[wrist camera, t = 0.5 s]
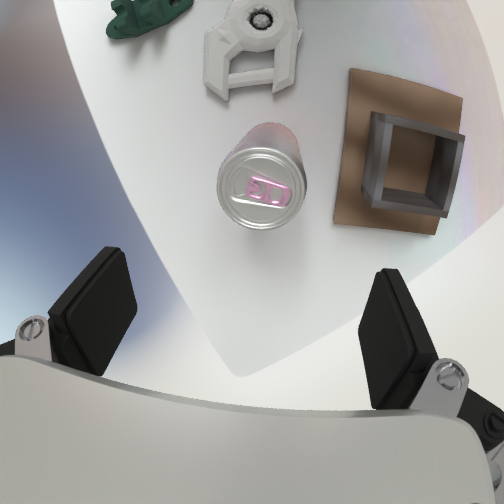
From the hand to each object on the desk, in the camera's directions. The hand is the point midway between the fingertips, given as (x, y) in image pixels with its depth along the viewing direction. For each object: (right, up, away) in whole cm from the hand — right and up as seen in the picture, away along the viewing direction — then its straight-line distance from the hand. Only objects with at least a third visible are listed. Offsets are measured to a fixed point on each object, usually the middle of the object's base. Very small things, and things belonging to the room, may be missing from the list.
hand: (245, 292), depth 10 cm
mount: (-11, +29, +13) cm, 34 cm away
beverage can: (+2, +13, +21) cm, 25 cm away
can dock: (+17, +12, +19) cm, 29 cm away
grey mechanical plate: (+1, +25, +14) cm, 29 cm away
